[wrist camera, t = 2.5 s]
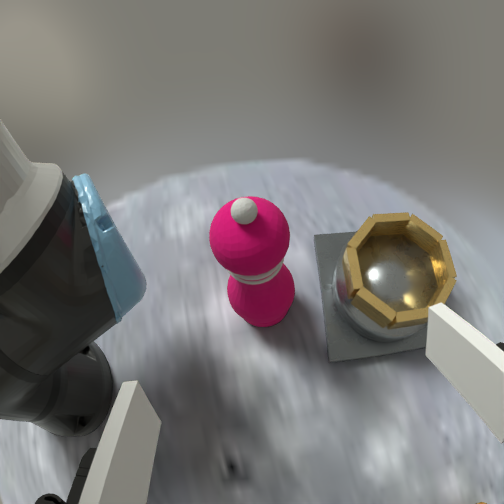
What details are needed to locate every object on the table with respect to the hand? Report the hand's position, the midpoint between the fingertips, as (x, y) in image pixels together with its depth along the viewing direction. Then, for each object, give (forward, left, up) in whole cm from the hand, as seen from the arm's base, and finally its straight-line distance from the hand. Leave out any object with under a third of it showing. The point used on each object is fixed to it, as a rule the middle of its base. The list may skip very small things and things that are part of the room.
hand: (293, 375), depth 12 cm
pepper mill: (-2, +11, -23) cm, 25 cm away
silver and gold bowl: (+13, +11, -23) cm, 28 cm away
